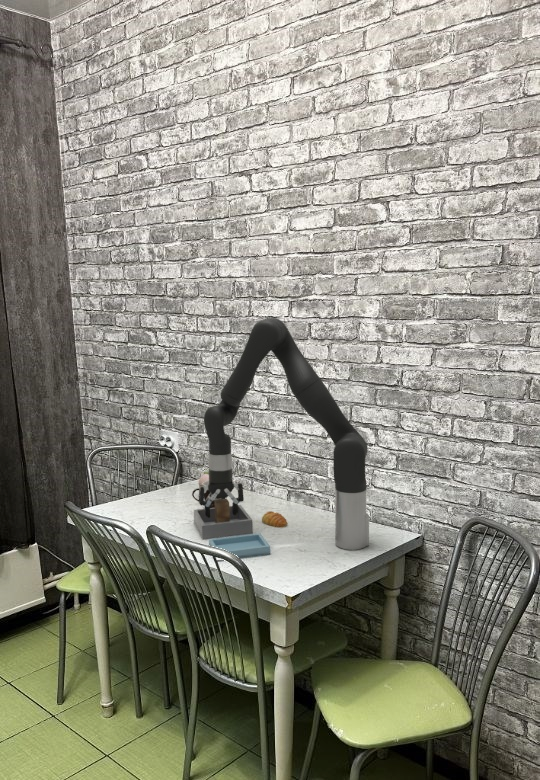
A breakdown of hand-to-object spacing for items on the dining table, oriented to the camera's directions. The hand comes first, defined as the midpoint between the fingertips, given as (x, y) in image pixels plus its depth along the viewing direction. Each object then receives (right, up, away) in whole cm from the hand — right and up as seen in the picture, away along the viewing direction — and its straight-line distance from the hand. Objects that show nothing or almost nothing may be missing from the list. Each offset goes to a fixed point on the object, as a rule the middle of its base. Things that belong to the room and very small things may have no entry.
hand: (221, 515), depth 203 cm
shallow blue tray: (+7, -7, -17) cm, 20 cm away
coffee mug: (-5, -2, +20) cm, 21 cm away
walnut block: (0, -4, +1) cm, 4 cm away
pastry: (+17, -4, +5) cm, 19 cm away
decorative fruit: (-7, 0, +37) cm, 37 cm away
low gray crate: (0, -5, +1) cm, 5 cm away
